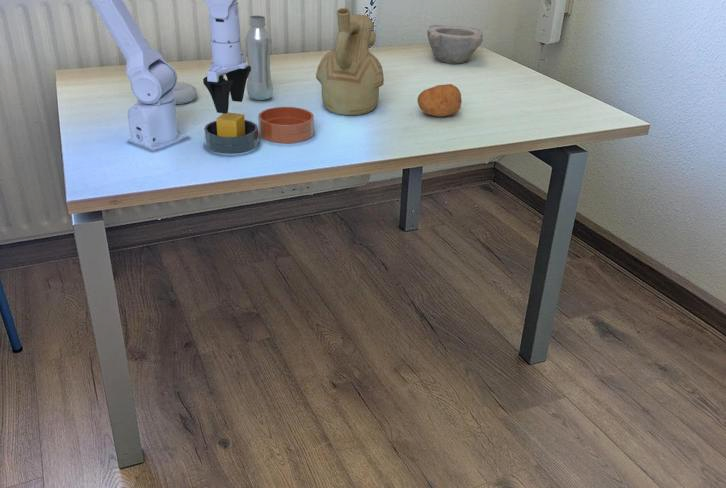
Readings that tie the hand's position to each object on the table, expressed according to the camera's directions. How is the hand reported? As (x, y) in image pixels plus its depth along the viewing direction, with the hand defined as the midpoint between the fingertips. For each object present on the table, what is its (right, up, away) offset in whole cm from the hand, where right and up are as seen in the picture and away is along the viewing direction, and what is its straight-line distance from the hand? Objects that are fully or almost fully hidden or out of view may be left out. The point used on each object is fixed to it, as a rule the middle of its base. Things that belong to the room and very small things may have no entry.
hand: (229, 106), depth 138 cm
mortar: (+55, +29, +71) cm, 95 cm away
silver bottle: (+1, +8, +31) cm, 33 cm away
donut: (-19, +7, +28) cm, 35 cm away
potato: (+46, +3, +26) cm, 53 cm away
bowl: (+10, -4, +11) cm, 16 cm away
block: (0, -7, +4) cm, 8 cm away
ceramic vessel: (+24, +5, +28) cm, 37 cm away
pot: (0, -7, +4) cm, 9 cm away
